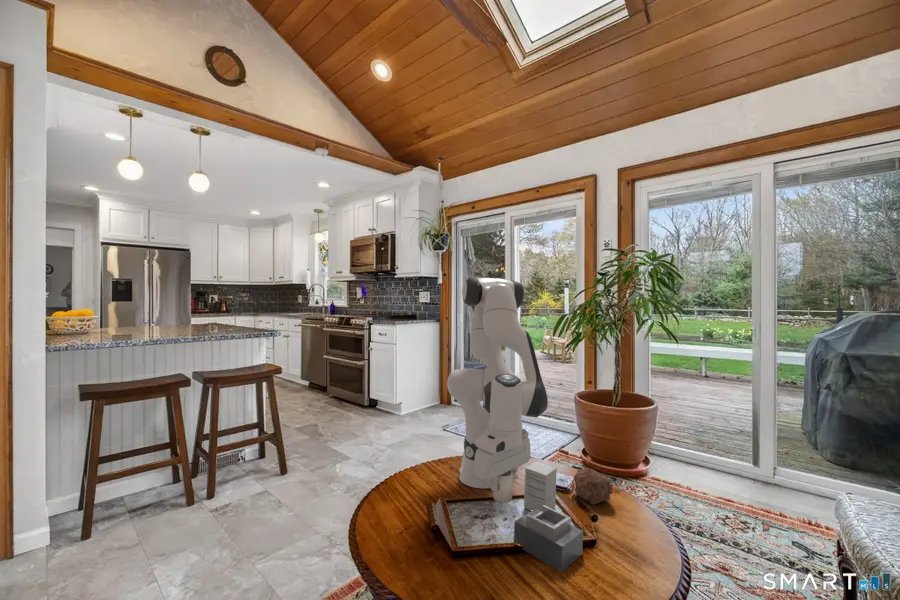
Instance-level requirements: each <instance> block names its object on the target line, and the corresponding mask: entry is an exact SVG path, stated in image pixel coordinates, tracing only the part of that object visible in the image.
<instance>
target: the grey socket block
mask: <svg viewBox="0 0 900 600" xmlns="http://www.w3.org/2000/svg"><path fill="white" fill-rule="evenodd" d="M513 529H514V530H513V544H514V543H518V544H520V545H522V546H523V549H522V550H523V551H524V552H527V554H530V555H532V556H534V557H535V558H537V559H538V560H540V561H541V562H543V563H545V564H547V565H549V566H550V567H552V568H554V569H556V570H557V571H559V572H560V573H563V571H565V570H566V569H567V568H568V567H570V566H571V565H572V564H574V562H575V561H576V560H578V559H579V558H580V557H582V556H583V548H584V547H583V545H584V544H583V542H584V530H582V529H580V528H579V527H578V528H577V527H576V526H574V525H572V517H571V516H568V515H567V514H565V513H562V512H560V511H558V510H556V509H555V508H554V509H552V508H550V507H547V506H545V505H543V506H542V511H541V510H538V509H535V510H533V511H529V512H528V513H526V514H524V515H523V516H521V517H520V518H518V519H516V520H514V526H513Z"/></svg>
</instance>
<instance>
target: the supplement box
mask: <svg viewBox="0 0 900 600" xmlns="http://www.w3.org/2000/svg"><path fill="white" fill-rule="evenodd" d="M524 474H525V475H524V492H523V493H524V496H523V508H524V507H525V508H528V509H530V510H535V509H538V510H541V511H542V506H543V505H545V506H547V507H550V508H552V509H553V508H554V507H555V508H556V498H557V496H556V493H557V492H556V491H557V467H554V466H552V465H549V464H546V463H542V462H540V461H535V462H533V463H531V464H529V465H528V466H526V467H525V470H524ZM525 508H524V509H525ZM555 508H554V509H555Z"/></svg>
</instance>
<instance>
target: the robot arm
mask: <svg viewBox="0 0 900 600" xmlns="http://www.w3.org/2000/svg"><path fill="white" fill-rule="evenodd" d="M461 288H462V289H461V294H462V295H461V296H462V300H463V302H464V304H465V305H467V306H469V307H473V308H474V310H473V315H472V319H471V325H470V327H471V329H470V341H469V343H470V345H469V350H470V353H471V355H473V356H474V357H475V358H476V359H478V360H480V361H481V362H483V363H484V364H485V365H486V368H483V369H479V368H458V369H453V370H452V371H451V372H450V374H449V375H448V377H447V381H446V387H447V391H448V392H449V394H450V396H451V397H453V399H455V400H456V401H457V402H458V404H459V405H460V406H461V409H462V411H463V414H464V419H465V437H464V439H463V452H462V459H461V460H462V461H461V465H460V466H461V467H460V468H459V481H460V482H461V483H462V484H463V485H466V486H468V487H471V488H476V489H491V491H492V492H496V491H498V490H500V488H499V487H500V484H499V483H497V479H498V476H500V475H502V474H504V473H506V472H508V471H510V470H511V471H512V472H513V484H514V483H515V478H517V477H518V476H519V474H518V470H519V467H520V466H522V465H526V464H527V463H528V462H530V460H531V455H532V454H531V453H532V452H531V441H530V438H529V432H528V430H526V429H524V428H523V423H522V416H525V417H529V418H539V417H540V416H542V415H543V414H544V413H545V411H546V410H547V408H548V404H549V403H548V402H549V399H548V398H549V397H548V394H547V393H548V392H547V390H546V387H545V384H544V382H543V379H542V375H541V372H540V366H539V363H538V358H537V355H536V351H535V348H534V344H533V341H532V337H531V336H530V333H529V332H528V331H527V330H525V329H524V328H523V327H522V325H521V324H520V321H519V318H518V309H519V308H521V306H522V304H523V303H524V300H525V290H524V286H523V284H522V283H521V282H519V281H517V280H514V279H513V280H508V279H506V278H505V279H504V278H500V277H478V276H471V277H468V278H467V279H466V280H465V281H464V283H463V285H462V287H461ZM502 347H505V348H508V349H509V350H512V351H513V352H515V353H517V355H518V356H519V357H520V360H521V363H522V367H523V371H524V376H525V381H522V379H521V378H519V377H518V376H517V375H516V374H515V373H514V372H513V371H512V370H511V369H510V368H509V366H507V364H506V362H505V360H504V358H503V354H502ZM481 402H482V404H481Z"/></svg>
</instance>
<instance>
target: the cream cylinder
mask: <svg viewBox="0 0 900 600" xmlns="http://www.w3.org/2000/svg"><path fill="white" fill-rule="evenodd" d="M497 483H499V484H500V487H499V488H500V490H498V491H496V492H494V491H492V492H493V496H492V497H493V500H494V501H496V502H499V503H503V504H507V503H510V502H512V500H513V484H514V483H513V472H512V471H511V470H510V471H508V472H506V473H504V474H502V475H500V476H498V479H497Z"/></svg>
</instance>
